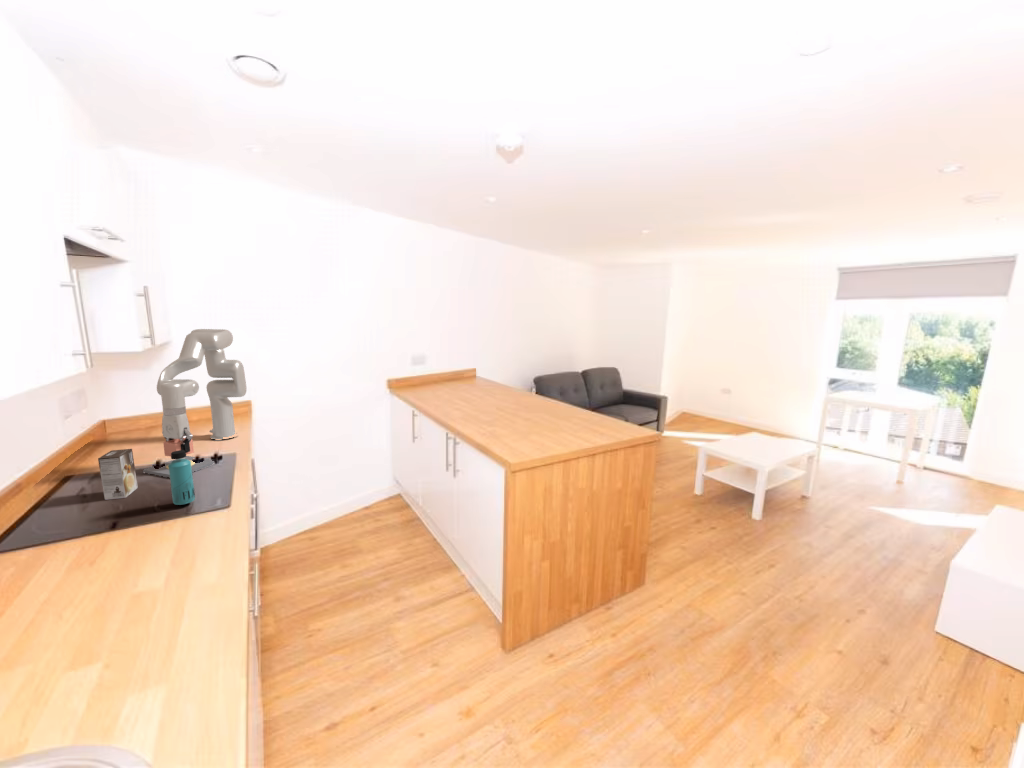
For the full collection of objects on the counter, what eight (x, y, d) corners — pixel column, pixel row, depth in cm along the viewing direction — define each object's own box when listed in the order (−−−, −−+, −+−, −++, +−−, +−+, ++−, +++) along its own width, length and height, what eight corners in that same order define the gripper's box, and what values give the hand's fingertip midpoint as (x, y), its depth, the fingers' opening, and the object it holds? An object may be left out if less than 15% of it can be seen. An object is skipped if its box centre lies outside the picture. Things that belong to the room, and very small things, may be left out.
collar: (164, 455, 173) (163, 442, 172) (181, 450, 180) (180, 437, 179) (177, 457, 171) (175, 443, 170) (193, 452, 178) (192, 439, 177)
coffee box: (117, 490, 155) (111, 449, 152) (138, 487, 157) (132, 448, 154) (103, 500, 146) (97, 458, 144) (126, 497, 149) (120, 456, 146)
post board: (143, 473, 170) (140, 451, 169) (187, 458, 188) (185, 439, 186) (174, 478, 166) (172, 457, 164) (217, 463, 183) (215, 443, 181)
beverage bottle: (183, 510, 141) (176, 455, 138) (167, 507, 142) (160, 453, 139) (200, 501, 147) (195, 449, 144) (185, 499, 149) (179, 447, 145)
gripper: (150, 411, 171) (155, 451, 174) (180, 415, 166) (185, 456, 169) (169, 407, 178) (173, 446, 181) (199, 411, 174) (203, 451, 177)
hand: (179, 451), depth 175 cm, fingers closed on collar, 7 cm apart
